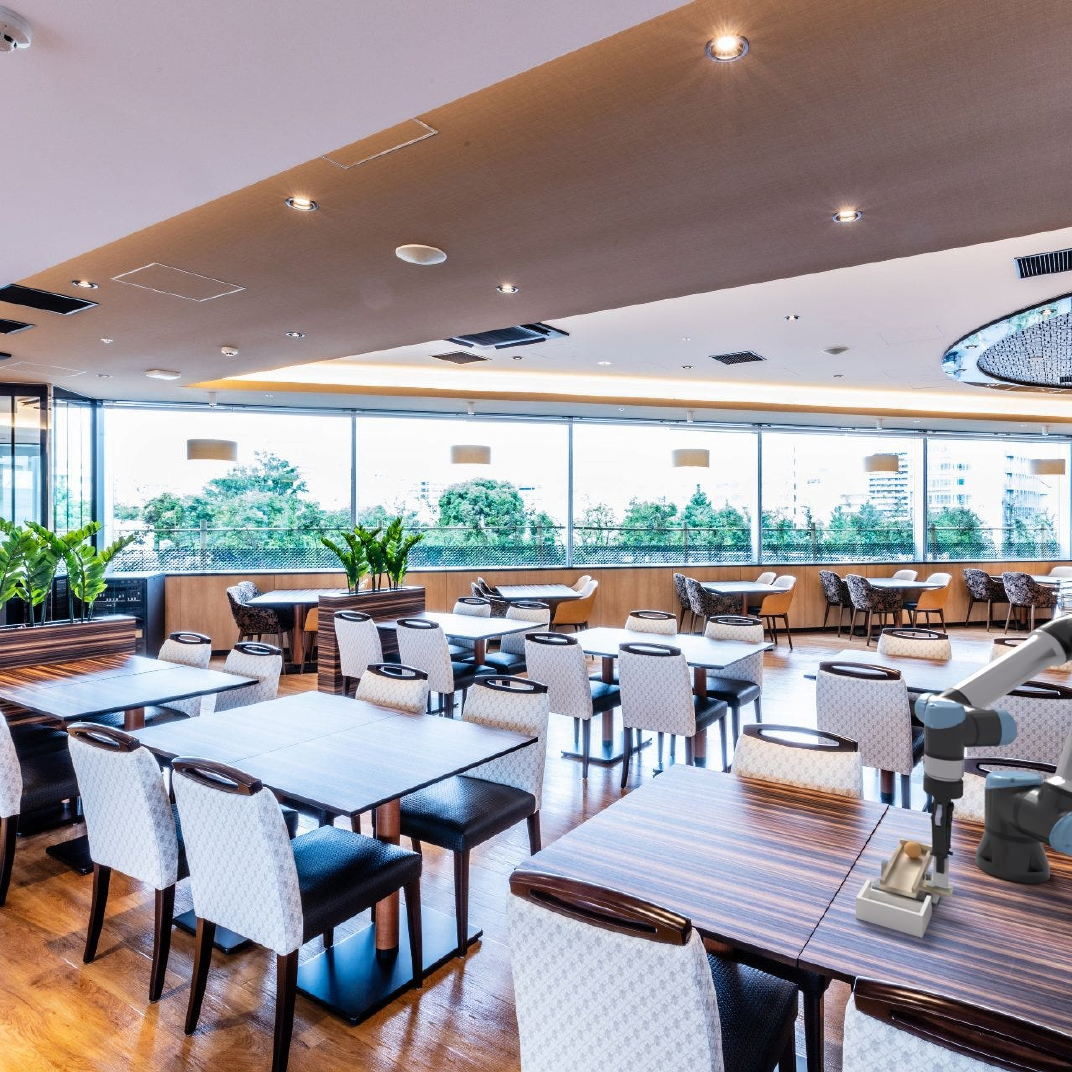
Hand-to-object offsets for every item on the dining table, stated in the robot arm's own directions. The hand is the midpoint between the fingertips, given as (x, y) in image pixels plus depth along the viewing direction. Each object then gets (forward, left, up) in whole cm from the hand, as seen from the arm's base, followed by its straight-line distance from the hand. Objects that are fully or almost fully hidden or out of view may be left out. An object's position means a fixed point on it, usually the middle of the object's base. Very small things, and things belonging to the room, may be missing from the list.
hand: (940, 885), depth 163 cm
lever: (+5, -6, -1) cm, 7 cm away
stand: (+7, -4, -5) cm, 10 cm away
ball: (+7, -11, +2) cm, 14 cm away
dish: (+7, +9, -5) cm, 12 cm away
